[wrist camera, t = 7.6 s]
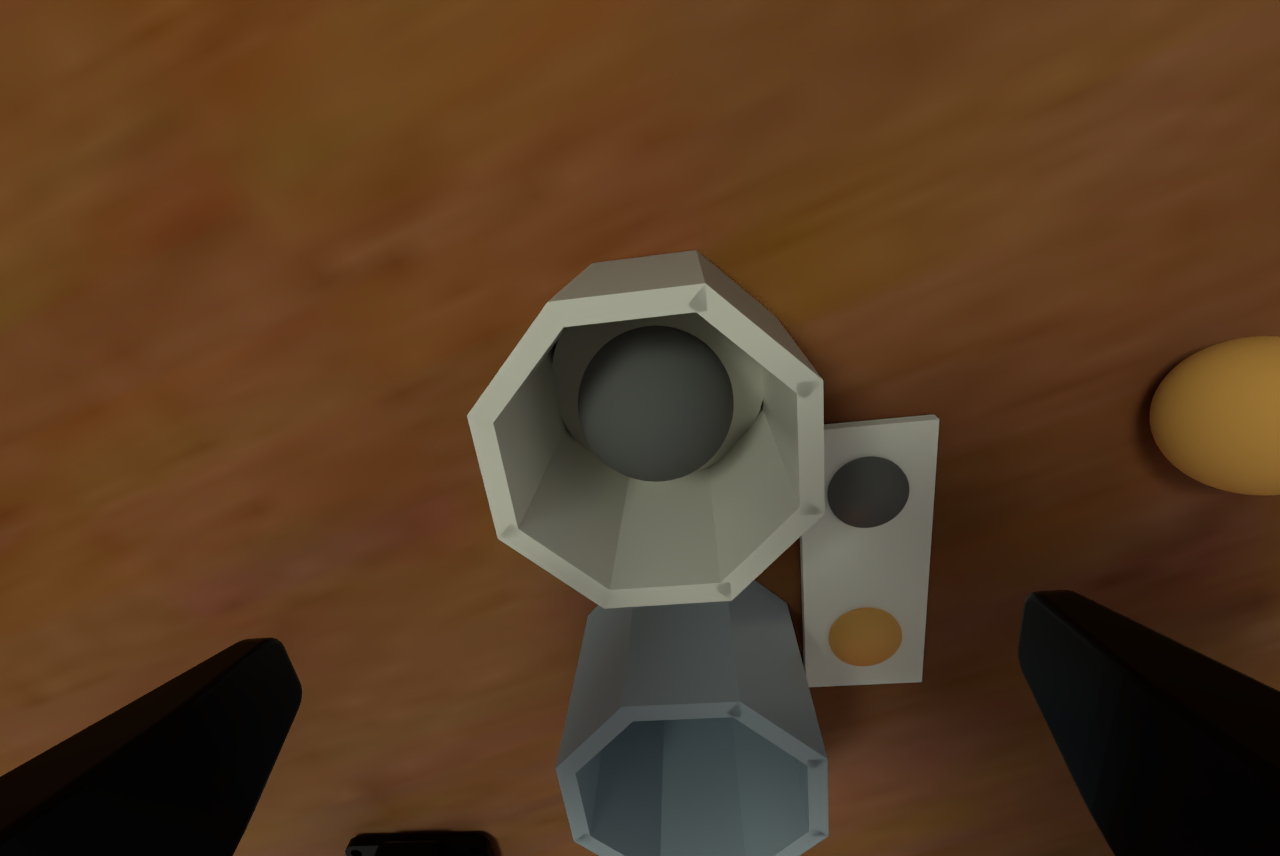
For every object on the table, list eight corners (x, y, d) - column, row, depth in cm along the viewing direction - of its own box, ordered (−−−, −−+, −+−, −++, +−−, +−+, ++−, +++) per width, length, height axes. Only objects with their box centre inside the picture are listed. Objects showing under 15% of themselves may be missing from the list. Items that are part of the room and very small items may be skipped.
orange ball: (1249, 448, 17) (1404, 519, 14) (1103, 460, 18) (1215, 532, 14) (1287, 312, 16) (1474, 351, 12) (1127, 329, 16) (1259, 371, 12)
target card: (917, 673, 21) (923, 685, 21) (803, 678, 22) (807, 690, 21) (933, 414, 17) (941, 421, 17) (796, 427, 18) (800, 433, 17)
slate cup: (791, 709, 22) (829, 884, 17) (608, 717, 23) (585, 887, 17) (784, 553, 20) (826, 697, 14) (578, 567, 20) (541, 710, 15)
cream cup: (781, 472, 18) (825, 594, 13) (563, 490, 19) (516, 614, 14) (772, 240, 16) (822, 269, 10) (520, 272, 17) (441, 314, 11)
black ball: (731, 437, 18) (747, 503, 14) (599, 450, 18) (581, 517, 14) (721, 303, 16) (736, 337, 12) (577, 321, 17) (550, 357, 13)
